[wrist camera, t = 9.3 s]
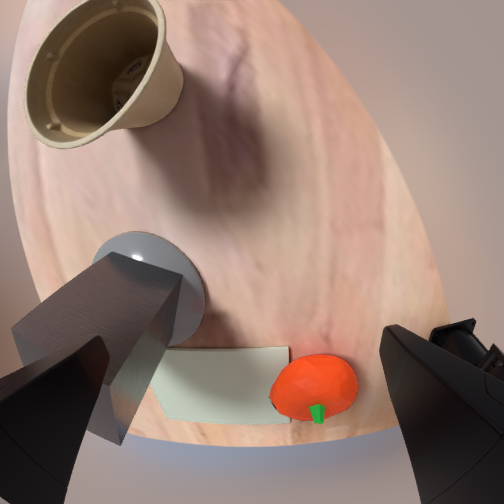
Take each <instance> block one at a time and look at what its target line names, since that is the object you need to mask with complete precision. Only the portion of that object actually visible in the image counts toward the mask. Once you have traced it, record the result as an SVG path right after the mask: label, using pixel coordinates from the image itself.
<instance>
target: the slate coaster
mask: <svg viewBox="0 0 504 504" xmlns="http://www.w3.org/2000/svg"><path fill="white" fill-rule="evenodd" d="M112 251H113V252H116V253H119V254H122V255H125V256H128V257H131V258H133V259H136V260H139V261H142V262H145V263H148V264H152V265H155V266H158V267H161V268H164V269H167V270H170V271H173V272H176V273H180V274H183V278H182V283H181V288H180V294H179V300H178V305H177V311H176V317H175V324H174V330H173V337H172V339H171V341H170V343H169V345H168V347H169V346H174V345H177V344H180V343H182V342H184V341H185V340H187V339H189V338H190V337H191V336H192V335H193V334H194V333H195V331H196V330H197V329H198V327H199V325H200V323H201V321H202V318H203V315H204V311H205V291H204V287H203V283H202V281H201V278H200V276H199V274H198V272H197V270H196V268H195V267H194V265H193V264H192V262H191V261H190V260H189V258H188V257H187V256H186V255H185V254H184V253H183V252H182V251H181V250H180V249H179V248H178V247H176V246H175V245H174V244H172V243H171V242H169V241H168V240H166V239H164V238H162V237H160V236H157V235H155V234H151V233H147V232H140V231H133V232H126V233H122V234H119V235H117V236H115V237H113V238H112V239H110V240H108V241H107V242H106V243H105V244H103V245H102V246H101V248H100V249H99V250H98V252H97V254H96V255H95V258H94V260H93V263H92V265H93V264H94V263H96V262H97V261H99V260H100V259H101V258H103V257H104V256H106V255H107V254H109V253H110V252H112Z"/></svg>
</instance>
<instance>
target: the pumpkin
mask: <svg viewBox="0 0 504 504" xmlns="http://www.w3.org/2000/svg"><path fill="white" fill-rule="evenodd" d="M358 388H359V386H358V381H357V378H356V374H355V372H354V370H353V369H352V368H351V367H350V365H349V364H348V363H347V362H346V361H344V360H342V359H340V358H339V357H336V356H330V355H325V354H323V355H310V356H305V357H300V358H298V359H296V360H295V361H293V362H291V363H290V364H288V365H287V366H286V367H284V368H283V369H282V370H281V372H280V374H279V375H278V377H277V379H276V380H275V382H274V383H273V385H272V387H271V390H270V395H269V397H268V398H270V399H271V401H272V402H273V403H272V402H271V401H270V402H271V403H272V405H273V406H274V408H275V409H277V410H278V412H279V413H280V414H282V415H284V416H287V417H289V418H293V419H297V420H301V421H312V420H314V423H318V424H322V423H323V420H324V419H326V418H329V417H331V416H333V415H335V414H337V413H340V412H342V411H345V410H347V409H348V408H349V407H350V406H351V405H352V404H353V402H354V401H355V399H356V396H357V394H358Z"/></svg>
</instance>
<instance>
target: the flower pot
mask: <svg viewBox="0 0 504 504" xmlns="http://www.w3.org/2000/svg"><path fill="white" fill-rule="evenodd" d="M166 29H167V28H166V18H165V15H164V11H163V9H162V7H161V5H160V4H159V2H158V1H157V0H83V1H82V2H80V3H79V4H77V5H76V6H74V7H73V8H72V9H70V10H69V11H68V12H67V13H66V14H65V15H64V16H62V17H61V18H60V20H58V21H57V22H56V24H55V25H54V26H53V27H52V28H51V30H50V31H49V32H48V33H47V35H46V36H45V37H44V39H43V40H42V42H41V43H40V45H39V47H38V49H37V51H36V53H35V55H34V57H33V59H32V61H31V64H30V66H29V70H28V73H27V77H26V82H25V86H24V100H23V102H24V110H25V117H26V119H27V122H28V124H29V127H30V129H31V131H32V132H33V134H34V135H35V136H36V137H37V138H38V139H39V140H40V141H41V142H42V143H44V144H45V145H47V146H49V147H53V148H57V149H71V148H76V147H79V146H83V145H85V144H88V143H90V142H92V141H94V140H96V139H98V138H99V137H101V136H103V135H104V134H105V133H107V132H109V131H111V130H118V129H125V128H134V127H145V126H149V125H151V124H154V123H156V122H158V121H160V120H161V119H163V118H164V117H165V116H166V115H167V114H169V113H170V112H171V110H172V109H173V108H174V107H175V105H176V104H177V102H178V99H179V97H180V94H181V91H182V88H183V83H184V80H183V73H182V70H181V67H180V65H179V64H178V62H177V61H176V59H175V57H174V55H173V53H172V51H171V49H170V47H169V45H168V43H167V41H166ZM139 62H140V63H141V64H140V66H139V67H138V68H136V69H134V70H133V71H132V72H131V73H128V72H129V71H130V69H131V68H132V67H134V66H135V65H136V64H137V63H139ZM118 102H120V104H121V106H122V109H121V110H120V111H119V110H118V108H117V103H118Z"/></svg>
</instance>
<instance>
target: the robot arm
mask: <svg viewBox="0 0 504 504" xmlns="http://www.w3.org/2000/svg"><path fill="white" fill-rule="evenodd" d="M475 324H476V320H475V319H474V318H472V319H468V320H464V321H461V322H457V323H453V324H449V325H445V326H441V327H437V328H434V329H433V330H432V332H431V335H430V339H429V341H427V340H425V339H424V338H422V337H420V336H418V335H416V334H414V333H413V332H411V331H409V330H407V329H405V328H403V327H401V326H400V325H397V324H395V325H389V326H386V327H384V329H383V333H382V338H381V343H380V349H379V352H380V358H381V361H382V365H383V369H384V374H385V378H386V382H387V386H388V391H389V395H390V398H391V401H392V404H393V407H394V410H395V413H396V416H397V419H398V422H399V425H400V428H401V431H402V434H403V437H404V440H405V444H406V447H407V450H408V454H409V457H410V460H411V464H412V468H413V472H414V476H415V479H416V484H417V487H418V492H419V496H420V501H421V504H504V353H503V352H502V351H501V350H500V349H499V348H498V347H497V346H496V345H495V344H493V345H492V346H491V347H490V350H489V351H488V350H487V349H486V348H485V346H484V345H483V344H482V343H481V342H480V341H479V339H478V338H477V337H476V336H475V335H474V334H473V330H474V327H475ZM109 362H110V354H109V352H108V349H107V347H106V345H105V343H104V340H103V338H102V337H101V336H100V335H94V334H90V335H88V336H86V337H84V338H82V339H80V340H78V341H76V342H74V343H72V344H70V345H68V346H66V347H64V348H61V349H59V350H57V351H55V352H53V353H51V354H49V355H47V356H45V357H43V358H41V359H39V360H37V361H35V362H33V363H31V364H29V365H27V366H25V367H23V368H21V369H19V370H17V371H15V372H14V373H11V374H9V375H6V376H4V377H2V378H0V504H64V501H65V496H66V493H67V487H68V485H69V481H70V477H71V474H72V470H73V467H74V464H75V461H76V458H77V455H78V452H79V449H80V446H81V443H82V440H83V437H84V434H85V431H86V429H87V426H88V423H89V420H90V418H91V415H92V412H93V410H94V407H95V405H96V402H97V400H98V397H99V394H100V391H101V388H102V384H103V381H104V378H105V374H106V371H107V368H108V365H109Z"/></svg>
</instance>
